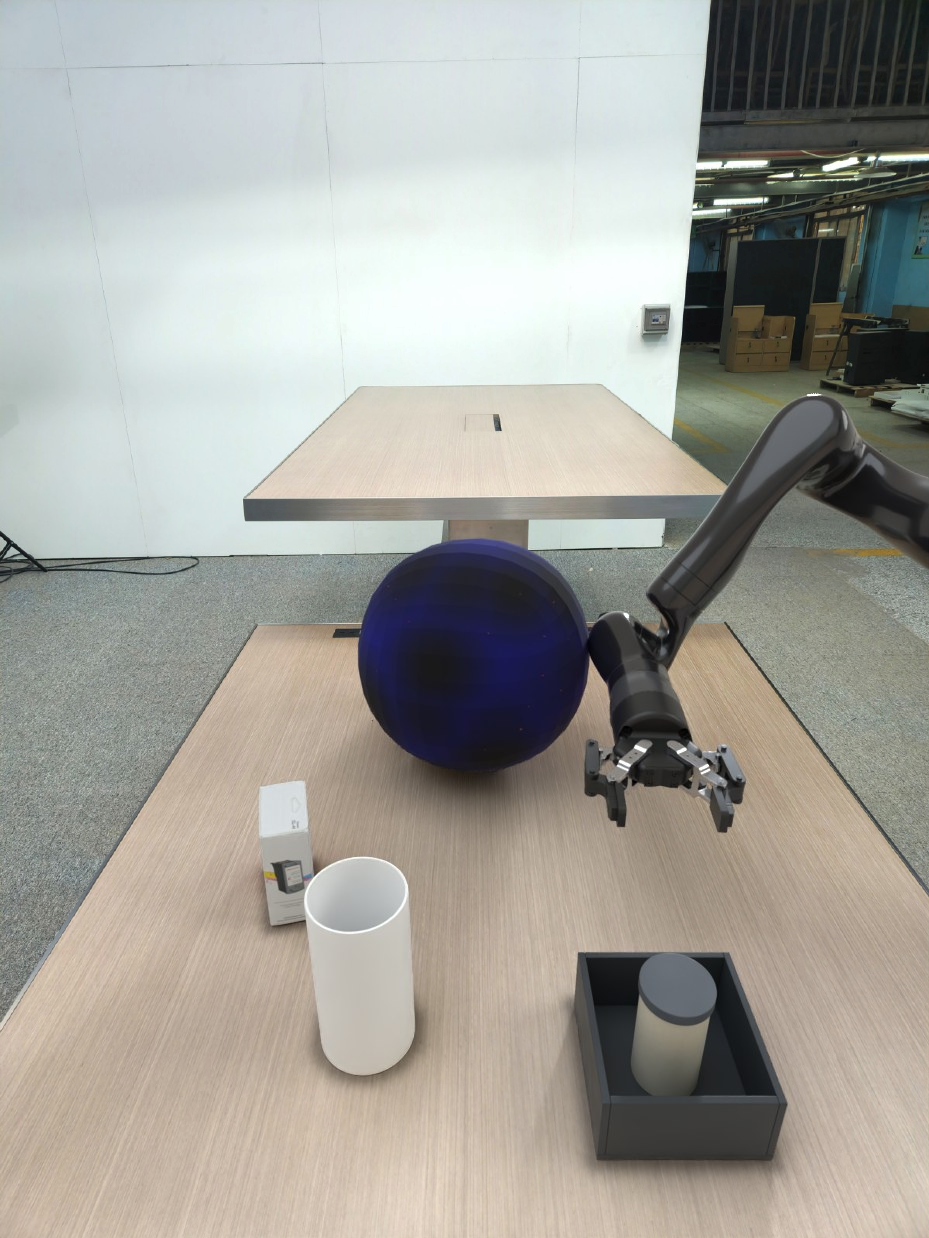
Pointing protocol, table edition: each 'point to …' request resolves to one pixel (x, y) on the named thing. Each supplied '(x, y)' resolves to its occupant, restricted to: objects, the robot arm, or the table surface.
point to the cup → (361, 963)
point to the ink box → (285, 849)
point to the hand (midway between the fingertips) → (673, 822)
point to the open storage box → (727, 1084)
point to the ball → (474, 654)
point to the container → (671, 1024)
